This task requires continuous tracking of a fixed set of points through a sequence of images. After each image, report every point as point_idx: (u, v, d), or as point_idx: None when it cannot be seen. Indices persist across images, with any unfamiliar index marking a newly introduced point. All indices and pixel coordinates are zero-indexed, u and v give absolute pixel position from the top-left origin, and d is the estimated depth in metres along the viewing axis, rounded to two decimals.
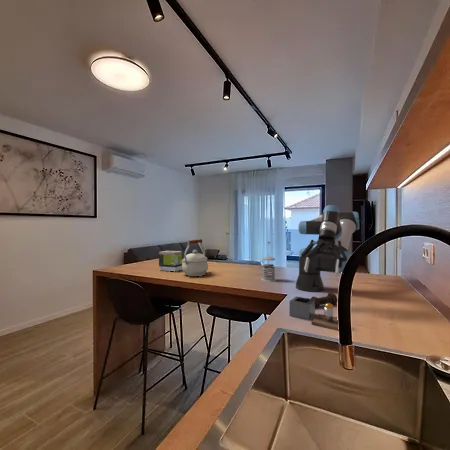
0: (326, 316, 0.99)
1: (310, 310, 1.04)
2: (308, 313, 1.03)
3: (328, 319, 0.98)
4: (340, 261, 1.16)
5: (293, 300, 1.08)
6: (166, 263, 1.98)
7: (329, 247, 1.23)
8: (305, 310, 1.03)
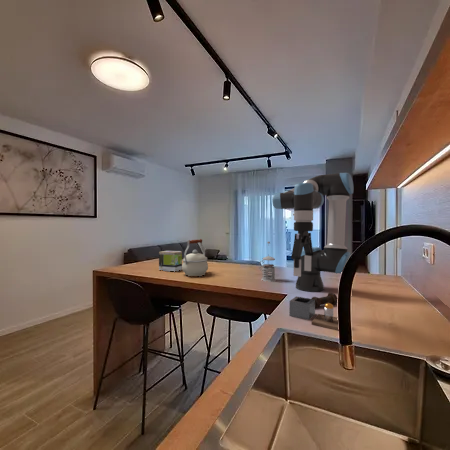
0: (326, 316, 0.99)
1: (310, 310, 1.04)
2: (308, 313, 1.03)
3: (328, 319, 0.98)
4: None
5: (293, 300, 1.08)
6: (166, 263, 1.98)
7: None
8: (305, 310, 1.03)
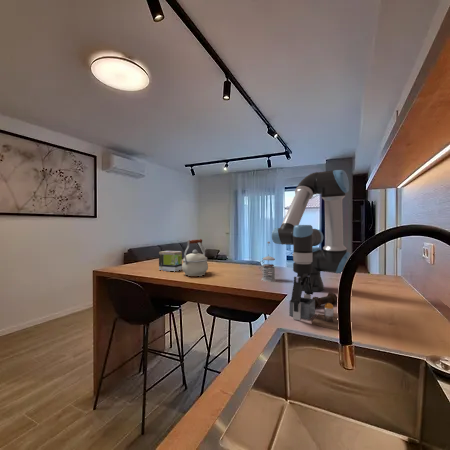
0: (326, 316, 0.99)
1: (310, 310, 1.04)
2: (308, 313, 1.03)
3: (328, 319, 0.98)
4: None
5: None
6: (166, 263, 1.98)
7: None
8: (305, 310, 1.03)
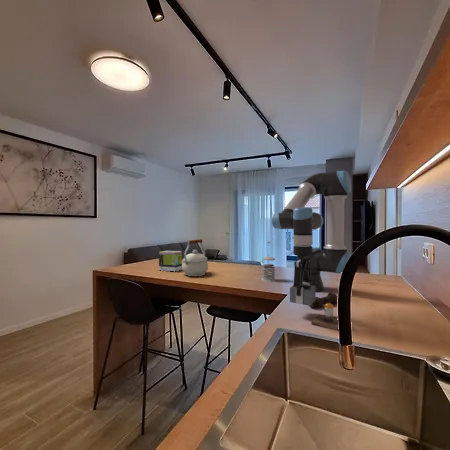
0: (326, 316, 0.99)
1: (311, 296, 1.04)
2: (308, 299, 1.03)
3: (328, 319, 0.98)
4: None
5: None
6: (166, 263, 1.98)
7: None
8: (305, 296, 1.04)
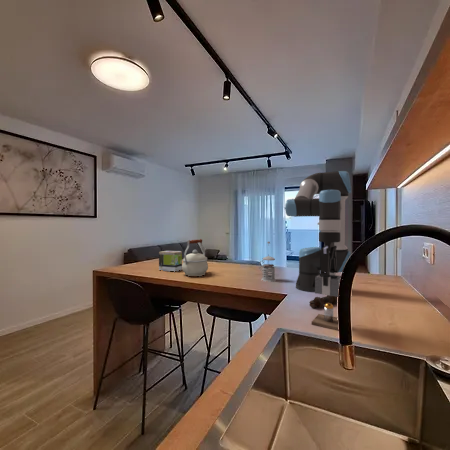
0: (326, 316, 0.99)
1: None
2: (337, 289, 0.94)
3: (328, 319, 0.98)
4: None
5: (319, 276, 0.99)
6: (166, 263, 1.98)
7: None
8: (333, 286, 0.94)
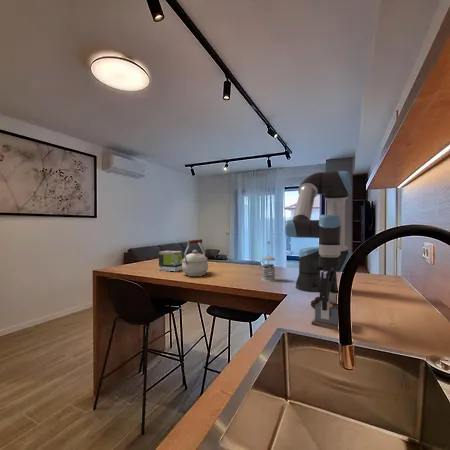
0: None
1: None
2: (336, 319, 0.94)
3: None
4: None
5: (319, 304, 0.99)
6: (166, 263, 1.98)
7: None
8: (333, 315, 0.95)
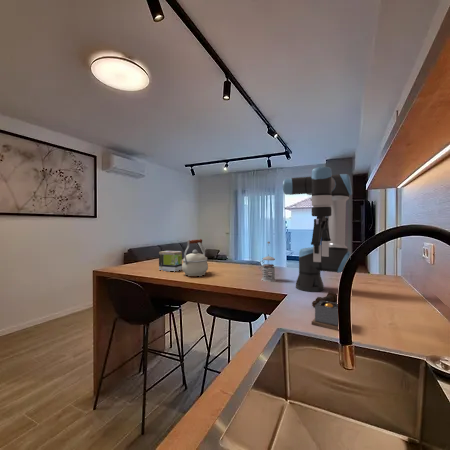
0: None
1: None
2: (336, 319, 0.94)
3: None
4: None
5: (319, 304, 0.99)
6: (166, 263, 1.98)
7: None
8: (333, 315, 0.95)
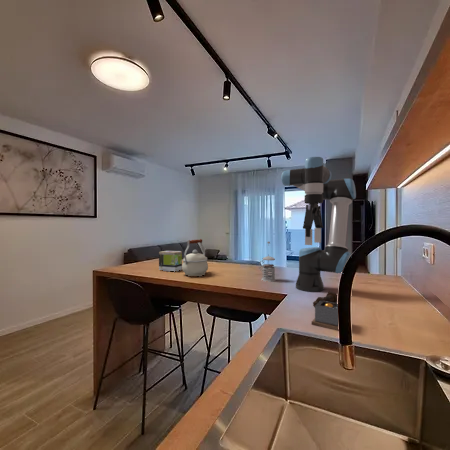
0: None
1: None
2: (336, 319, 0.94)
3: None
4: None
5: (319, 304, 0.99)
6: (166, 263, 1.98)
7: None
8: (333, 315, 0.95)
